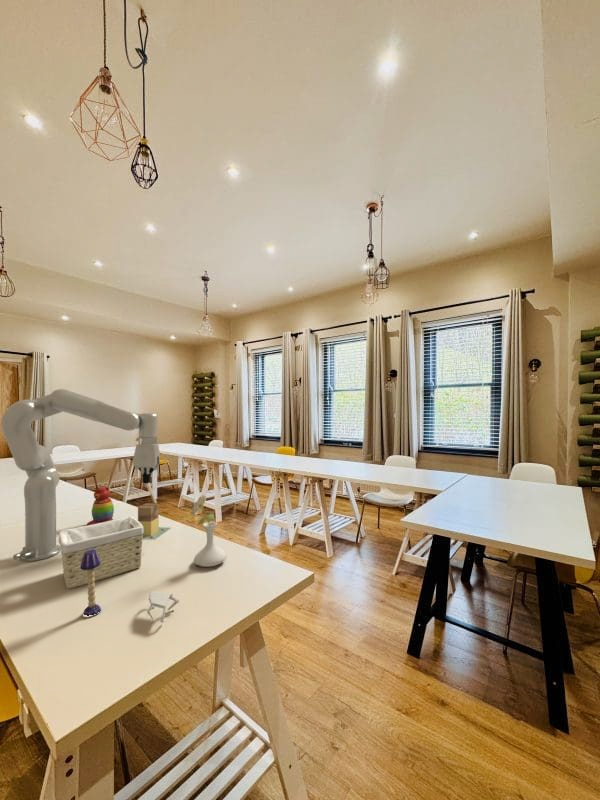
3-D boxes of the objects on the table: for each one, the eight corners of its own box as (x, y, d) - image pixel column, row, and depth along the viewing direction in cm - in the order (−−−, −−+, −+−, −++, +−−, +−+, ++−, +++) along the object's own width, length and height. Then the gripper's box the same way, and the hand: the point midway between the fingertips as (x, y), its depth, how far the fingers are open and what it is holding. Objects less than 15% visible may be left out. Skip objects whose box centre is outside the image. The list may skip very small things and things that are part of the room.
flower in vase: (212, 553, 129) (211, 487, 130) (233, 560, 122) (232, 491, 123) (183, 566, 118) (182, 494, 119) (204, 575, 112) (203, 499, 112)
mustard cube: (151, 535, 145) (151, 521, 145) (138, 535, 146) (138, 521, 146) (158, 530, 151) (158, 517, 151) (146, 530, 152) (145, 516, 152)
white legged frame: (187, 613, 92) (186, 594, 92) (160, 630, 84) (159, 610, 84) (159, 600, 98) (159, 583, 98) (131, 615, 91) (131, 597, 91)
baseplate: (154, 542, 141) (154, 538, 141) (123, 541, 142) (123, 537, 142) (171, 529, 155) (171, 527, 155) (142, 529, 156) (142, 526, 156)
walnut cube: (151, 521, 145) (150, 507, 145) (137, 521, 146) (137, 507, 146) (158, 517, 151) (158, 503, 151) (145, 516, 152) (145, 503, 152)
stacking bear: (84, 526, 161) (84, 489, 161) (102, 519, 170) (102, 484, 171) (102, 528, 158) (102, 490, 158) (119, 521, 167) (119, 485, 168)
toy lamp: (78, 620, 89) (78, 556, 89) (82, 610, 93) (82, 549, 94) (99, 615, 91) (99, 552, 91) (102, 606, 95) (102, 546, 96)
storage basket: (61, 593, 102) (61, 544, 103) (57, 573, 115) (57, 530, 115) (145, 568, 118) (145, 526, 118) (133, 553, 130) (133, 515, 130)
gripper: (126, 441, 147) (125, 484, 146) (159, 442, 145) (158, 485, 144) (137, 440, 154) (135, 480, 153) (168, 440, 152) (166, 481, 152)
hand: (146, 482), depth 149 cm, fingers closed
